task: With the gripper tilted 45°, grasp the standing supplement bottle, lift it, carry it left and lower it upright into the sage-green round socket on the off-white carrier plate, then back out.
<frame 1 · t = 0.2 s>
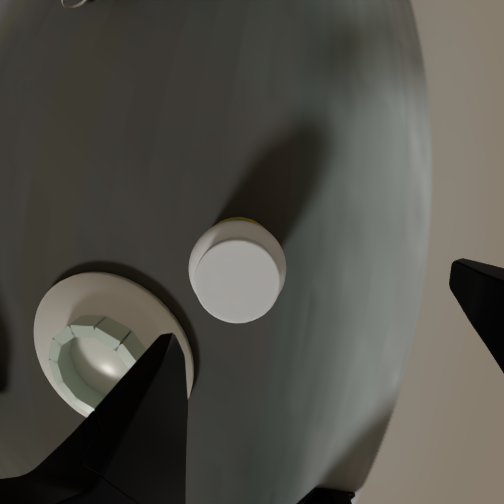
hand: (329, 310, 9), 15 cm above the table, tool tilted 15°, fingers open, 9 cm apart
supplement bottle: (238, 251, 24), on the table
carrier socket: (108, 358, 24), on the table
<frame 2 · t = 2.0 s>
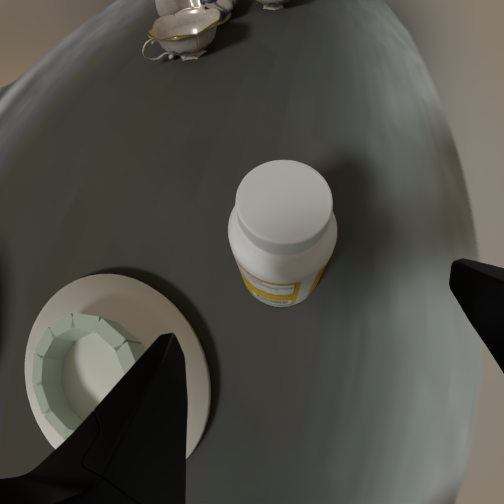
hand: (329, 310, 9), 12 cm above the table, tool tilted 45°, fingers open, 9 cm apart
supplement bottle: (280, 270, 22), on the table
carrier socket: (105, 381, 19), on the table
chinaware: (218, 23, 35), on the table
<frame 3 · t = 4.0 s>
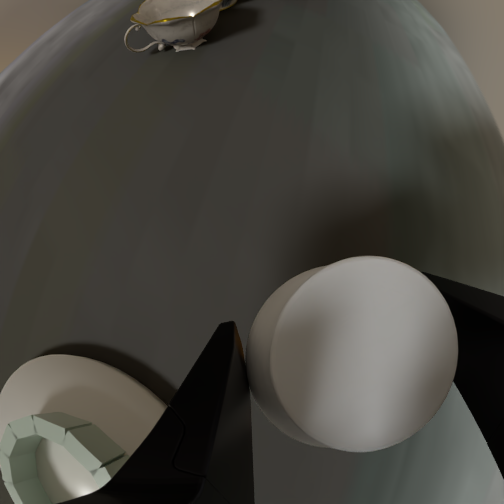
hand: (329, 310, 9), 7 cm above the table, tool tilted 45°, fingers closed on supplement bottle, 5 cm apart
supplement bottle: (312, 358, 14), on the table, touching gripper
carrier socket: (88, 480, 12), on the table
chinaware: (221, 8, 28), on the table
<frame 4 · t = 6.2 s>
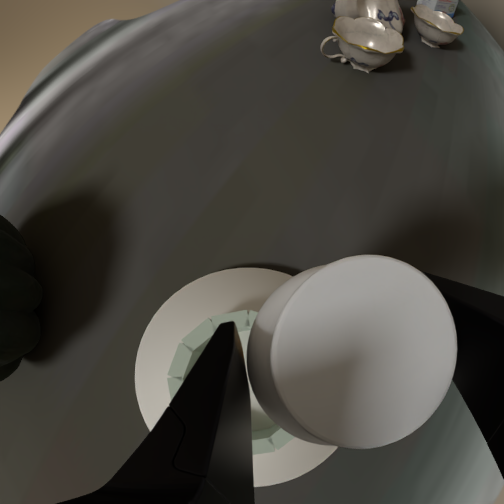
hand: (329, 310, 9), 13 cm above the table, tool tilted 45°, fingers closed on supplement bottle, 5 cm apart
squash: (15, 311, 23), on the table
supplement bottle: (312, 357, 15), point 6 cm above the table, touching gripper
carrier socket: (247, 381, 20), on the table
medicine box: (434, 12, 38), on the table
chinaware: (381, 40, 33), on the table
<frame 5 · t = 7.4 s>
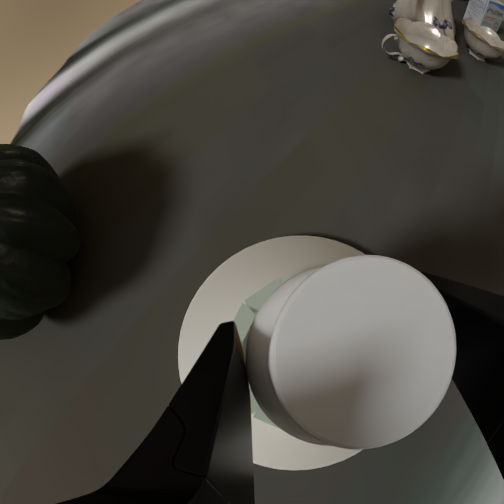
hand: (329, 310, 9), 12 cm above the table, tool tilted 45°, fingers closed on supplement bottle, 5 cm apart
squash: (41, 264, 23), on the table
supplement bottle: (311, 357, 15), point 5 cm above the table, touching gripper
carrier socket: (301, 354, 19), on the table
medicine box: (479, 28, 35), on the table
chinaware: (433, 46, 31), on the table
when the fingers open (8 cm above the table, at t = 8.5 s): supplement bottle stays where it is, resting on carrier socket.
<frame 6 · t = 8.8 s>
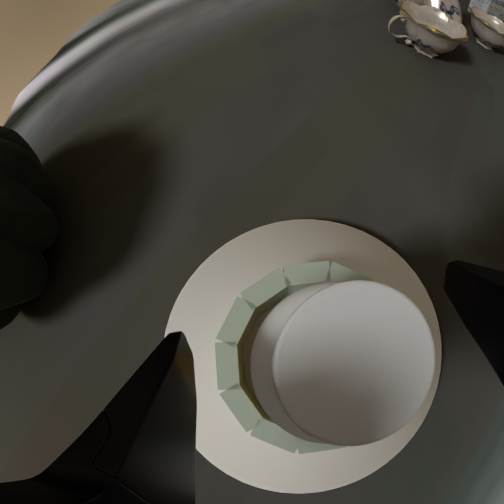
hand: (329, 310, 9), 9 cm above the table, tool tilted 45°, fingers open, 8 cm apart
squash: (20, 256, 20), on the table
supplement bottle: (310, 362, 15), point 1 cm above the table, touching carrier socket
carrier socket: (308, 358, 16), on the table
medicine box: (484, 19, 32), on the table
chinaware: (440, 33, 28), on the table
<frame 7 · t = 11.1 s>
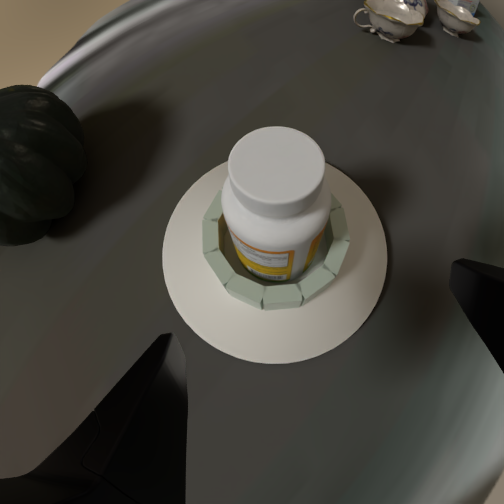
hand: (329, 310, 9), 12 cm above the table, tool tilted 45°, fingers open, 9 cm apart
squash: (48, 196, 26), on the table
supplement bottle: (276, 247, 21), point 1 cm above the table, touching carrier socket
carrier socket: (275, 249, 22), on the table
medicine box: (457, 11, 38), on the table
chinaware: (407, 23, 34), on the table
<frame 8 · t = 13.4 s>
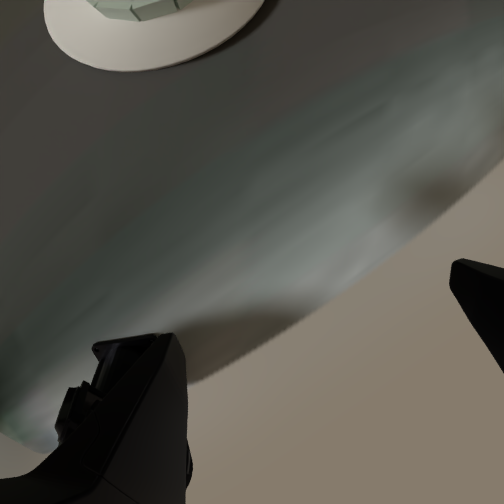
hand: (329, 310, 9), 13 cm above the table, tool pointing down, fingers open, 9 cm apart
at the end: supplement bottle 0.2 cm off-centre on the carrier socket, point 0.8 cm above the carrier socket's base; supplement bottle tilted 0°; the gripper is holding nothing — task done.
